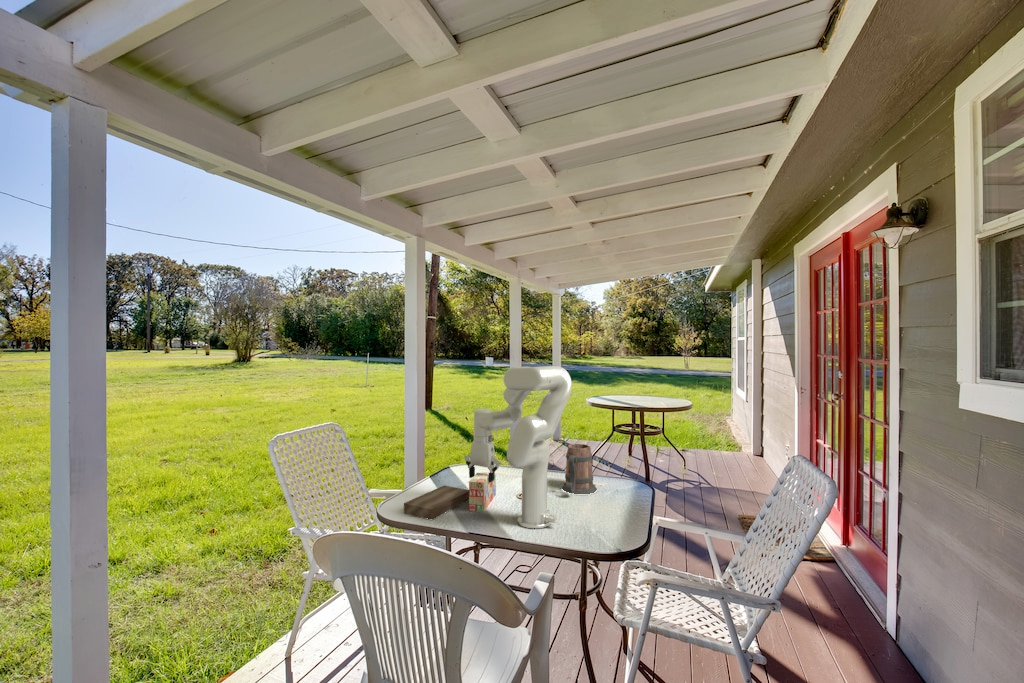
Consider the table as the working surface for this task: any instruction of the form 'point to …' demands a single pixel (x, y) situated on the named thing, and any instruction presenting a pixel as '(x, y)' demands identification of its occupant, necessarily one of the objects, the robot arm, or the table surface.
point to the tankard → (579, 470)
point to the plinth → (436, 502)
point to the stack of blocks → (481, 492)
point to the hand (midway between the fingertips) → (481, 479)
